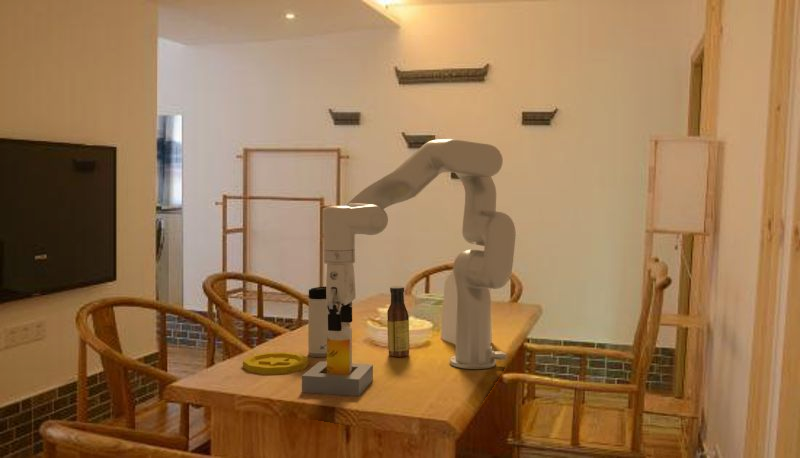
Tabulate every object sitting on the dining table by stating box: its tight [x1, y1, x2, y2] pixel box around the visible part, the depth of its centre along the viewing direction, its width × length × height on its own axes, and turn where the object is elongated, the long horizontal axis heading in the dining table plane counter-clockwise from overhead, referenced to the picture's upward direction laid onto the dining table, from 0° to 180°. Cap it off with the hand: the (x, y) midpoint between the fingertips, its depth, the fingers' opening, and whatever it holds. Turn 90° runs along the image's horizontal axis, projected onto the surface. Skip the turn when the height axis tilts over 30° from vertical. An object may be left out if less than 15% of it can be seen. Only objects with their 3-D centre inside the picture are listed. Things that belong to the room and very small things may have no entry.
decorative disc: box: [242, 351, 310, 375], centre depth 198 cm, size 17×18×2 cm
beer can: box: [326, 322, 353, 375], centre depth 179 cm, size 6×6×15 cm
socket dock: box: [301, 360, 374, 397], centre depth 179 cm, size 14×14×4 cm
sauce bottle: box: [386, 285, 411, 358], centre depth 210 cm, size 6×6×20 cm
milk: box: [440, 270, 493, 346], centre depth 230 cm, size 12×12×26 cm
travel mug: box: [307, 286, 328, 358], centre depth 210 cm, size 6×7×20 cm
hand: (340, 326), depth 179 cm, fingers open, 9 cm apart
